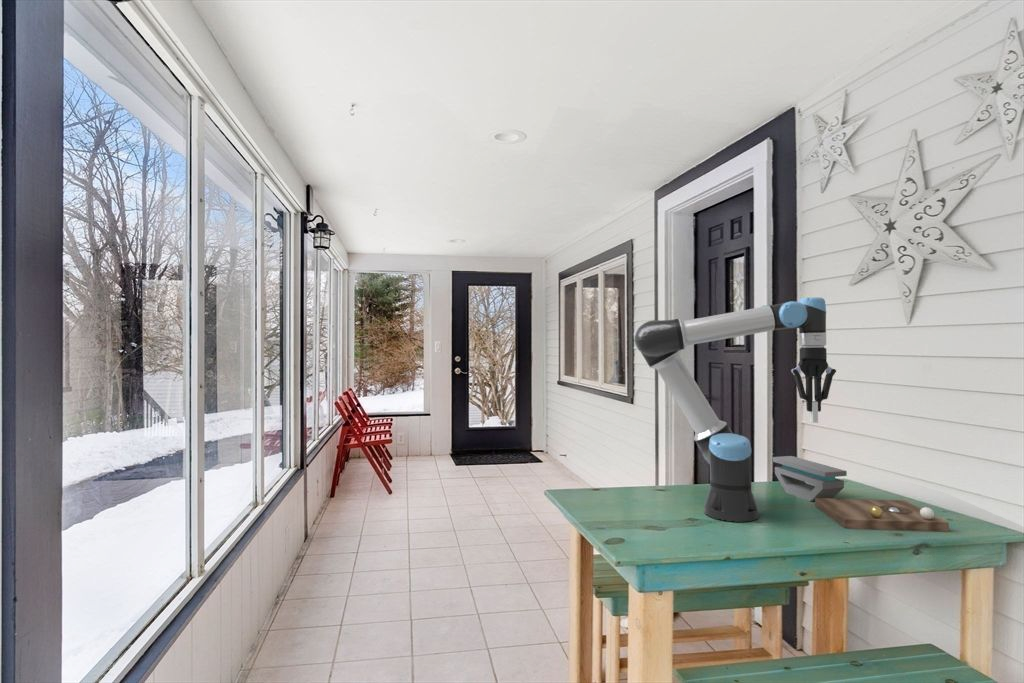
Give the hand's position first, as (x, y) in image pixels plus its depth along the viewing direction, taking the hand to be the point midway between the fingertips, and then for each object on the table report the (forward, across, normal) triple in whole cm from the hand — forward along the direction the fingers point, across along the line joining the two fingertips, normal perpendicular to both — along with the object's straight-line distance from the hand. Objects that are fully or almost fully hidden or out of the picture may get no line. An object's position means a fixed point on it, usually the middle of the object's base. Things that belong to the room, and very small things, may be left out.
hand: (813, 421), depth 180 cm
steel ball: (+25, +18, -11) cm, 32 cm away
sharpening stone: (+27, +2, +12) cm, 29 cm away
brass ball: (+22, +9, -19) cm, 31 cm away
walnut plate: (+26, +13, -11) cm, 31 cm away
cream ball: (+22, +22, -19) cm, 37 cm away
